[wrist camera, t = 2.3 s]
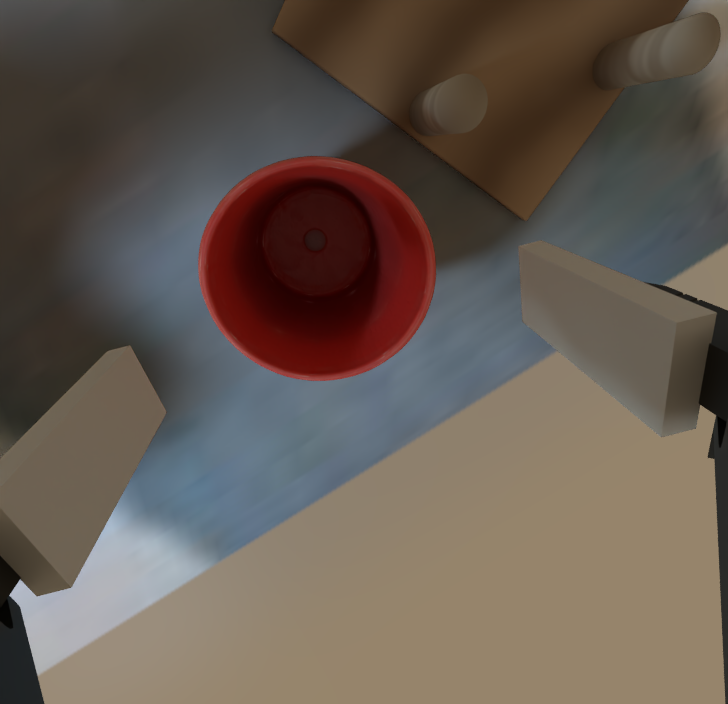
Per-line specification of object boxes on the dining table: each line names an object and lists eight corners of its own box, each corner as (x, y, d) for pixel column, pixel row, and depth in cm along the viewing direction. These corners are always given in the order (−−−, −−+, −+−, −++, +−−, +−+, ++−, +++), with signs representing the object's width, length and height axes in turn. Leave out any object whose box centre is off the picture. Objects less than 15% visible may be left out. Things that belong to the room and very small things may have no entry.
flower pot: (256, 121, 24) (229, 108, 16) (422, 192, 27) (475, 213, 19) (215, 286, 28) (175, 347, 20) (363, 333, 31) (385, 404, 23)
